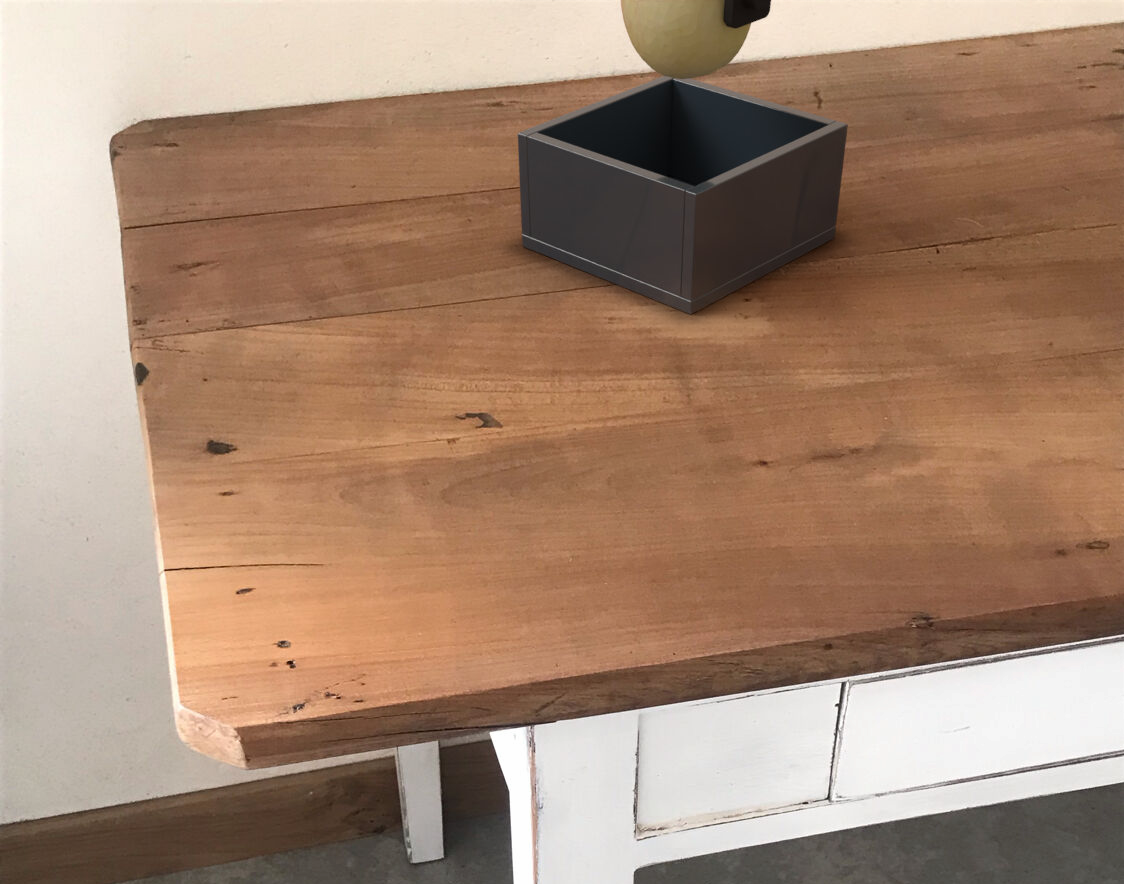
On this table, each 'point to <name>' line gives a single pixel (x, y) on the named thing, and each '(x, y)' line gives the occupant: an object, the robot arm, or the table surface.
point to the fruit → (682, 35)
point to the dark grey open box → (680, 189)
